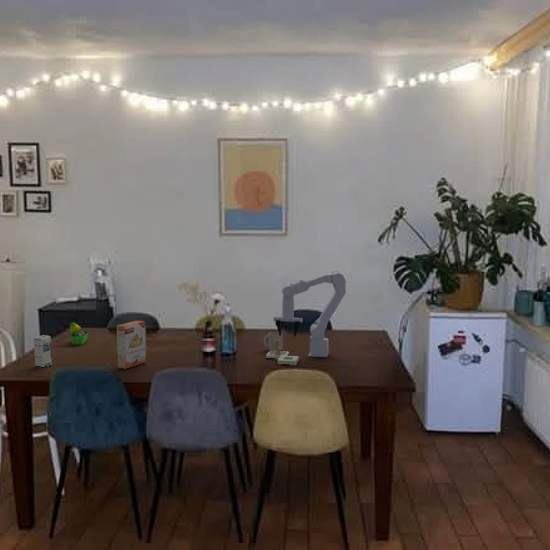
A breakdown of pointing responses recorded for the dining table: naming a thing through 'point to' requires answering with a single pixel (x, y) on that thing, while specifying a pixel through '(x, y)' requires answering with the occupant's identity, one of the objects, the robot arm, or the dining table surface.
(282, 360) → the holder
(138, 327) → the cracker box
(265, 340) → the cup
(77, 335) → the fruit basket
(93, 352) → the dining table surface
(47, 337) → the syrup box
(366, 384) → the dining table surface
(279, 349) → the peg
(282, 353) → the tray
